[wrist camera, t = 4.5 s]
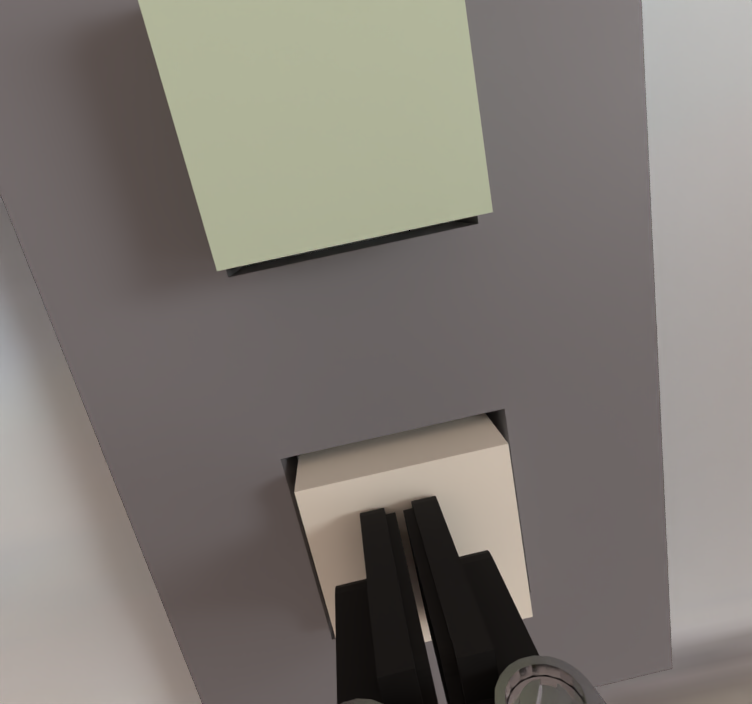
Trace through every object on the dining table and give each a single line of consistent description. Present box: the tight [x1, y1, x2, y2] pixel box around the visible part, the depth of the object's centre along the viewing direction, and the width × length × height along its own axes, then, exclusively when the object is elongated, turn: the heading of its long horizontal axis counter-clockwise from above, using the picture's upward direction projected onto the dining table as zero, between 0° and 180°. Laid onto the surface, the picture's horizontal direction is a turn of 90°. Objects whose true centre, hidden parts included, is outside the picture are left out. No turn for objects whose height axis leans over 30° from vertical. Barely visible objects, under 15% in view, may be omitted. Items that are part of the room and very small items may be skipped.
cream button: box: [294, 413, 533, 642], centre depth 12 cm, size 4×4×2 cm
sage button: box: [138, 0, 493, 271], centre depth 8 cm, size 4×4×2 cm
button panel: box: [0, 0, 672, 704], centre depth 10 cm, size 12×30×2 cm, turn 12°
